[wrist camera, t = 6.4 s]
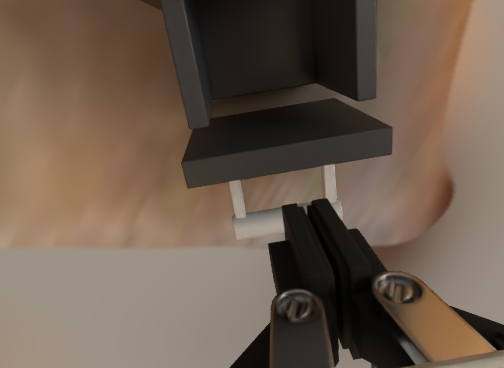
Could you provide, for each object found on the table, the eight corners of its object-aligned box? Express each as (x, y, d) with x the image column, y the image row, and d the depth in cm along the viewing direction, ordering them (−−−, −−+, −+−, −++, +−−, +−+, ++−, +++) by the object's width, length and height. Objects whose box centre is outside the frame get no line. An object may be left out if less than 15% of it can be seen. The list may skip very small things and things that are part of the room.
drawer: (338, 186, 23) (390, 251, 16) (214, 207, 23) (210, 281, 16) (323, -137, 16) (403, -278, 9) (145, -109, 16) (82, -229, 9)
